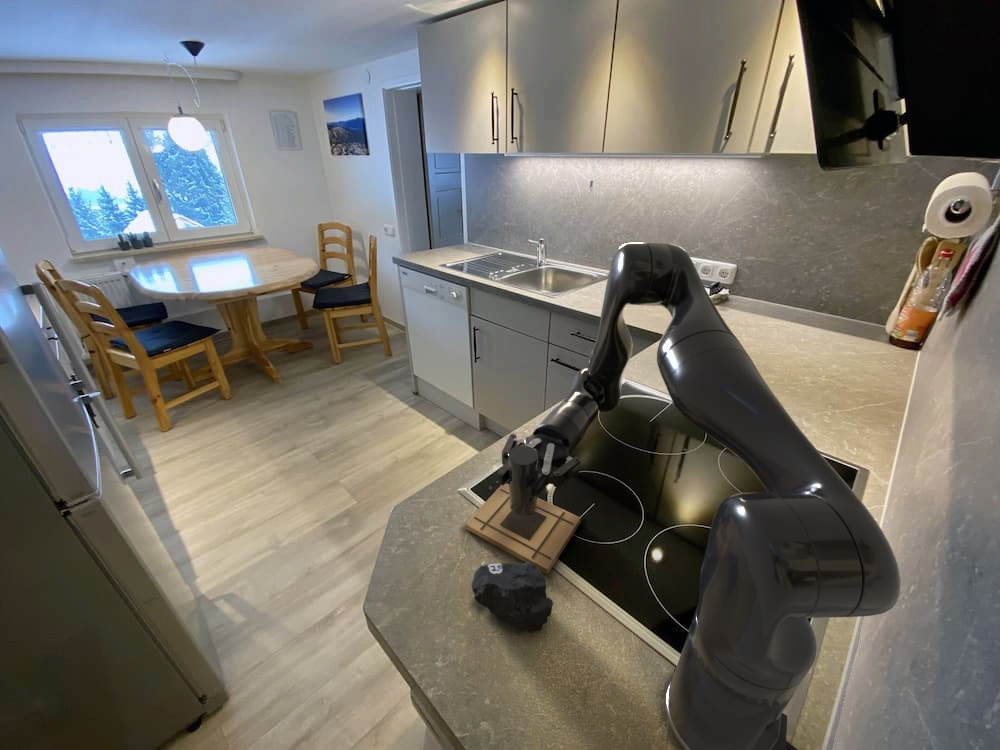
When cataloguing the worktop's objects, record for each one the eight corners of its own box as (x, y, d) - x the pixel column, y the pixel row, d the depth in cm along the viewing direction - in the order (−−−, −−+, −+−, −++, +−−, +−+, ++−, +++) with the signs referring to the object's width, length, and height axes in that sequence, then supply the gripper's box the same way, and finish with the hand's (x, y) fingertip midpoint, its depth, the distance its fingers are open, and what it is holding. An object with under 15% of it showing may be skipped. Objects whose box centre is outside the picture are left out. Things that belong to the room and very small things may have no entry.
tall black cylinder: (542, 502, 70) (543, 451, 65) (528, 520, 67) (528, 468, 61) (519, 491, 72) (518, 441, 67) (504, 508, 69) (502, 457, 64)
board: (580, 522, 72) (581, 517, 71) (547, 574, 63) (547, 569, 63) (504, 486, 80) (503, 481, 79) (465, 528, 71) (464, 523, 71)
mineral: (478, 646, 54) (476, 619, 52) (471, 584, 62) (469, 558, 60) (553, 632, 56) (555, 605, 53) (537, 573, 64) (538, 547, 61)
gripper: (528, 402, 78) (475, 453, 66) (601, 425, 71) (557, 486, 59) (528, 433, 82) (478, 487, 70) (597, 458, 75) (555, 523, 63)
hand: (514, 486), depth 64 cm, fingers closed on tall black cylinder, 4 cm apart
